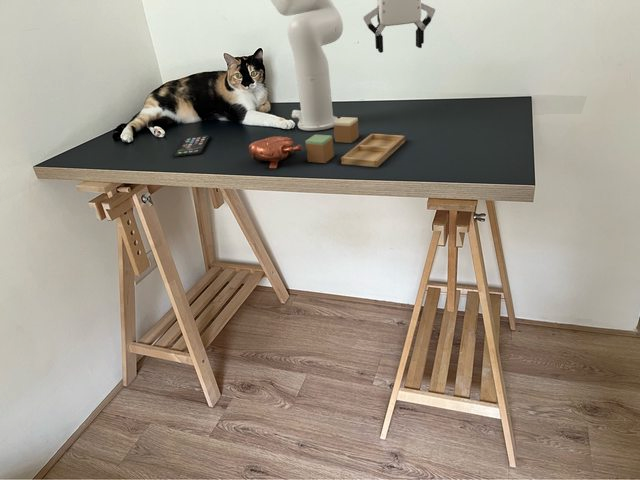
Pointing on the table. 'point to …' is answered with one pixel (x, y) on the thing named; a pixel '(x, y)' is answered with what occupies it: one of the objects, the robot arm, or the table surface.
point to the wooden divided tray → (373, 150)
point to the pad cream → (346, 129)
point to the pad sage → (319, 148)
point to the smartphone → (192, 145)
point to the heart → (273, 149)
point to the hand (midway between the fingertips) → (399, 49)
